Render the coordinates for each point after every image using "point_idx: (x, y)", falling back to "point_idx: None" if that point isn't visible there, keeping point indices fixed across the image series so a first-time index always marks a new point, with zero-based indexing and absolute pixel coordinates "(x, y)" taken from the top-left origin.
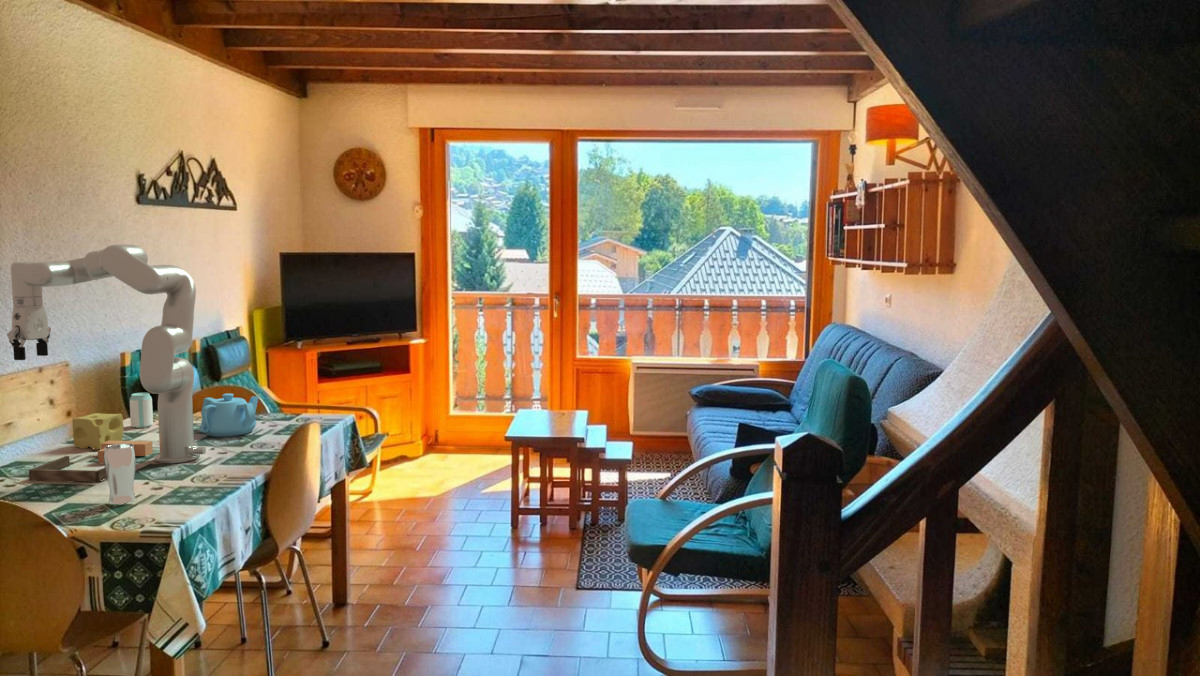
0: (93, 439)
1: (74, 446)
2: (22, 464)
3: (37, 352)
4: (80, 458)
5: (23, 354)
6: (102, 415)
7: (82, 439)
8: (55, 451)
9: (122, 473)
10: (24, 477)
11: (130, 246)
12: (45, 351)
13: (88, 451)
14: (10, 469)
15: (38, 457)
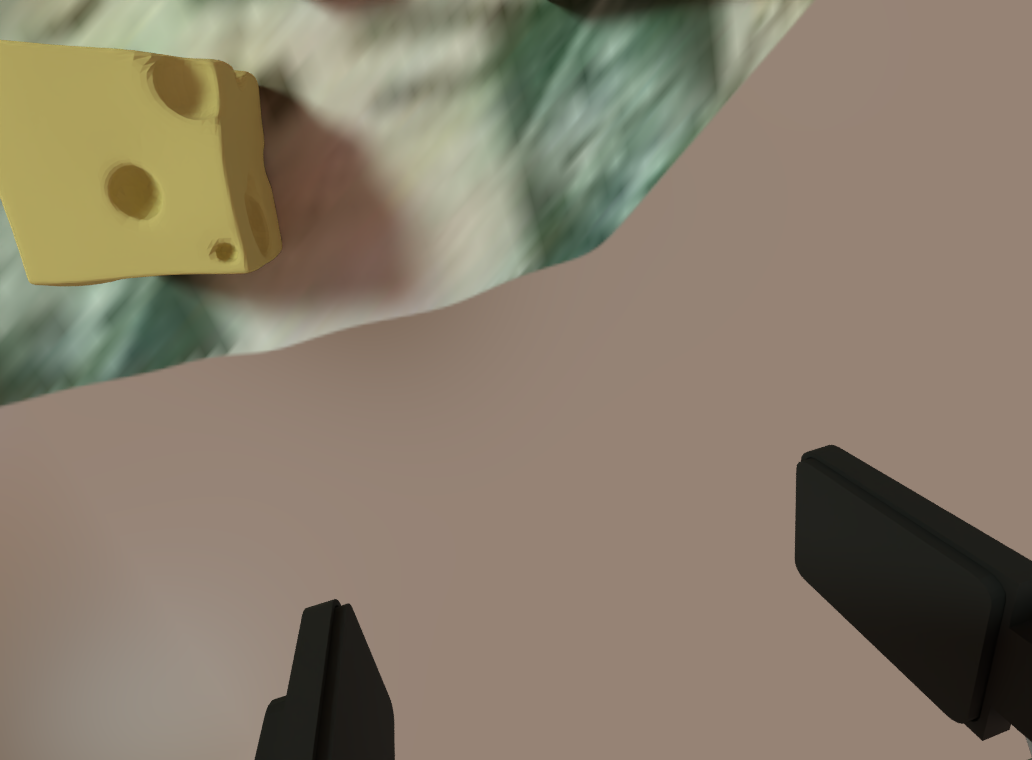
0: (249, 120)
1: (281, 249)
2: (571, 220)
3: (389, 746)
4: (422, 46)
5: (899, 493)
6: (65, 161)
7: (264, 199)
8: (365, 277)
9: None
10: (725, 31)
11: None
12: (342, 663)
13: (303, 122)
14: (639, 198)
15: (468, 256)
